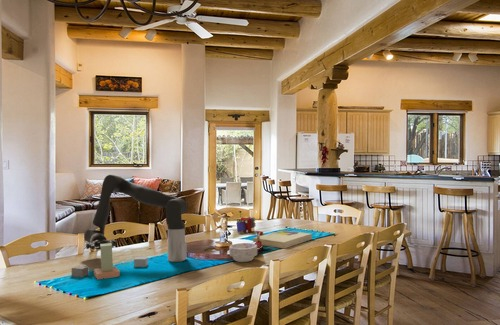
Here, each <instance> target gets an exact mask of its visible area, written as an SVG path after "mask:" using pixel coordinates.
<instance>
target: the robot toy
mask: <svg viewBox="0 0 500 325" xmlns="http://www.w3.org/2000/svg"><path fill="white" fill-rule="evenodd" d="M238 212H239V214H240V218H237V220H236V232H237V233H243V232H245V233H246V234H248V233H252V232H253V231H252V230H253V229H254V228H255V227H256V226H257V225H256V217H251V216H247V217H242V216H241V215H242V211H241V210H239V211H238Z"/></svg>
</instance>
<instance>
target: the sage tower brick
mask: <svg viewBox="0 0 500 325" xmlns="http://www.w3.org/2000/svg"><path fill="white" fill-rule="evenodd" d="M100 248H101V249H100V264H101V267H100V268H101V269H102V272H105V271H113V267H114V263H113V248H112V243H106V244H100Z"/></svg>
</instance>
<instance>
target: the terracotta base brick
mask: <svg viewBox="0 0 500 325" xmlns="http://www.w3.org/2000/svg"><path fill="white" fill-rule="evenodd" d="M120 272H121V271H120V270H119V268H117V266H113V271H105V272H102V269H101V267H100V268H94V269H93V275H94V277H95V279H96V278H97V279H96V280H102V279H103V278H104V279H110V278H116V277H118V276H119V277H121V276H120ZM119 277H118V278H119ZM104 279H103V280H104Z"/></svg>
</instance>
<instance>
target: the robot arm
mask: <svg viewBox="0 0 500 325" xmlns="http://www.w3.org/2000/svg"><path fill="white" fill-rule="evenodd" d="M113 193H119V194H124V195H127V196H129V197H131V198H132V199H133V200H135V201H137V202H139V203H142V204H145V205H148V206H153V207H161V208H165V221H166V222H165V223H166V225H167V261H168V262H171V263H173V262H174V263H176V262H183V261H185V260H187V257H188V256H187V241H186V235H185V234H186V224H185V222H184V221H183V220H182V215H183V214H186V212H187V210H188V204H187V203H188V202H186V200H185V199H183V198H180V197H176V196H171V195H169V194H165V193H163V192H161V191H159V190H156V189H153V188H151V187H149V186H146V185H142V184H140V183H139V184H138V183H135V182H134V183H133V182H132V181H129V180H127V179H126V178H123V177H122V176H119V175H115V174H108V175H106V176H105V177H104V179H103V181H102V185H101V190H100V196H99V201H98V205H97V208H96V211H95V214H94V218H93V220H92V224H93V226H96V227H97V228H99V230H98V229H93V228H88V229H87V230H85V231H84V235H83V236H84V240H85V244H86V245H85V248H86V249H87V250H90V249H91V250H98V251H99V250H100V251H101V248H100V244H106V243H112V249H113V248H114V247H117V241H116V240H115V239H111V240H109V239H108V238H107V237H106V236H105V229H106V224H107V221H108V218H109V215H110V202H111V201H110V199H111V196H112V194H113Z"/></svg>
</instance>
